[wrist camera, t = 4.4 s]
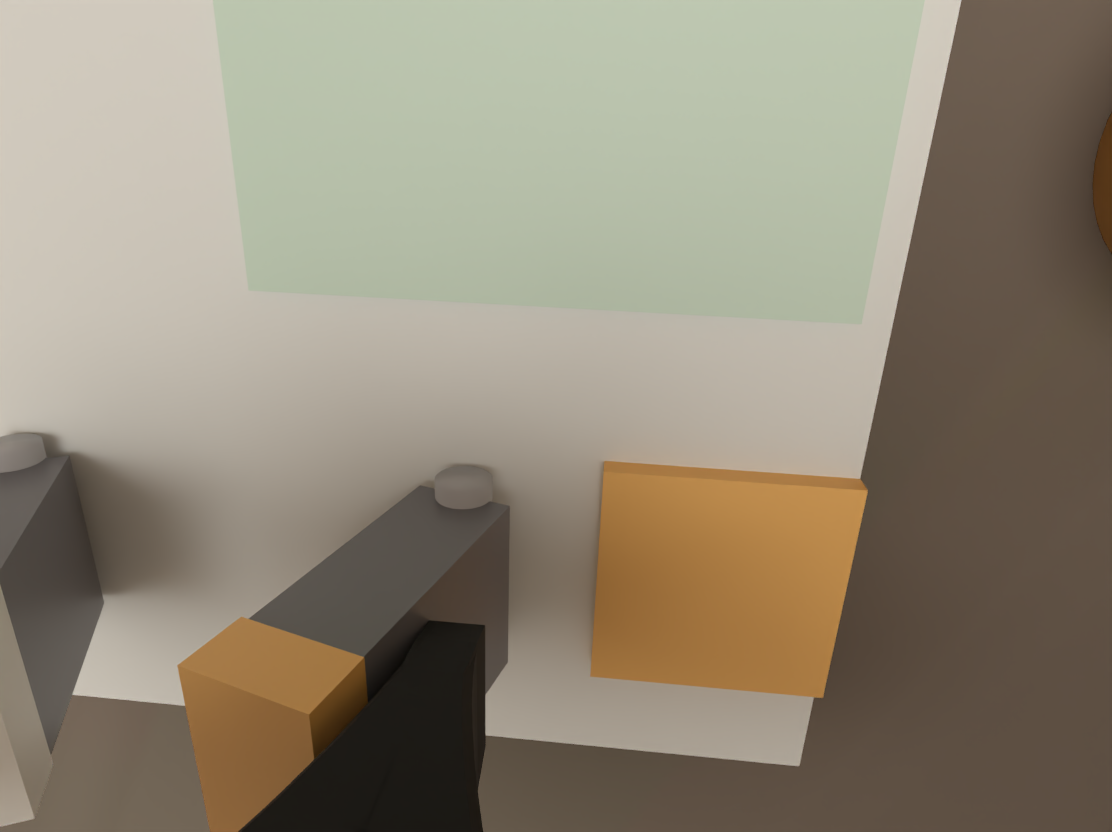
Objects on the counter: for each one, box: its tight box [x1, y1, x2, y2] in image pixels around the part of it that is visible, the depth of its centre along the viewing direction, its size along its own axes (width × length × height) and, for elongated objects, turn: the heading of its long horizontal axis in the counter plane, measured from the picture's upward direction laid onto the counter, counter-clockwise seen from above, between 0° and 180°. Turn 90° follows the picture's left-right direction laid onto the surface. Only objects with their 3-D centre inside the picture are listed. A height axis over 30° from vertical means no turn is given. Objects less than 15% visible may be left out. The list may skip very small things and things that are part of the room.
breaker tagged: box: [177, 466, 510, 832], centre depth 10 cm, size 4×2×5 cm, turn 178°
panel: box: [0, 0, 961, 766], centre depth 11 cm, size 20×16×2 cm
